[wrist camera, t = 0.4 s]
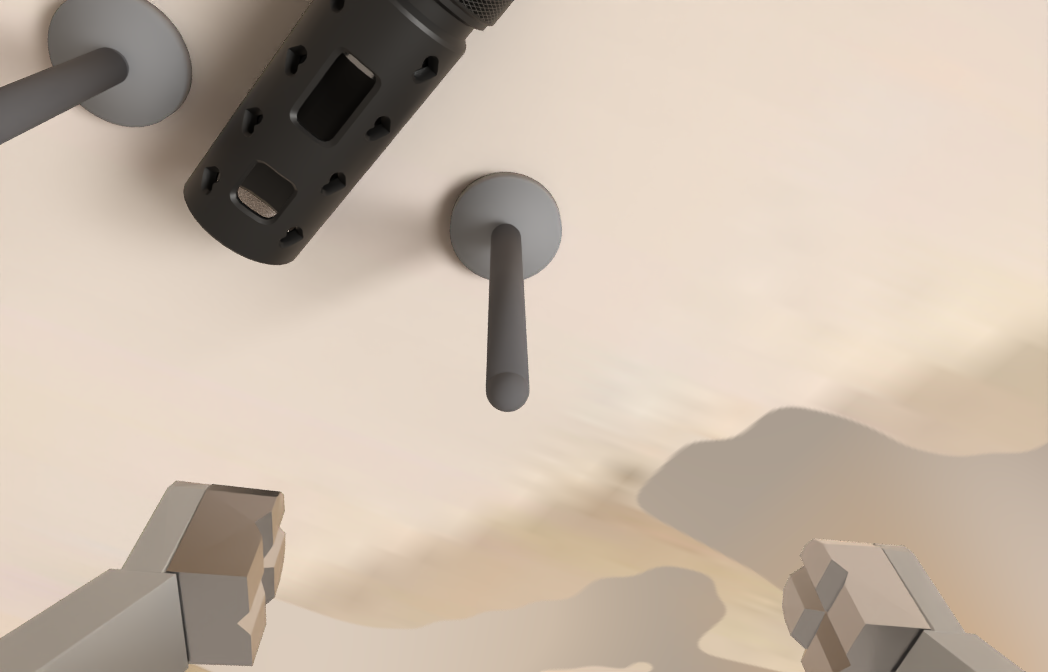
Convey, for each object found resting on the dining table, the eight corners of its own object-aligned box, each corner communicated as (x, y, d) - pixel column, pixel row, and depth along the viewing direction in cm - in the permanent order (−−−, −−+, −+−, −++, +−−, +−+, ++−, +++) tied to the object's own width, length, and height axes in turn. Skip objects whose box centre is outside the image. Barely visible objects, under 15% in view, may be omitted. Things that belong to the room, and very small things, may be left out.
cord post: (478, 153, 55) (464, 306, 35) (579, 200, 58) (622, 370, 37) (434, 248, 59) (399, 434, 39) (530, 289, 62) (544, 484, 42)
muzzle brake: (210, 153, 55) (155, 203, 46) (440, -175, 44) (425, -191, 36) (315, 229, 58) (282, 289, 50) (550, -57, 48) (561, -45, 39)
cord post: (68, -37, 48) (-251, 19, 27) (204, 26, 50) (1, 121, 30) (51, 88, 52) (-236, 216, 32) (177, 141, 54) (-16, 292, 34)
